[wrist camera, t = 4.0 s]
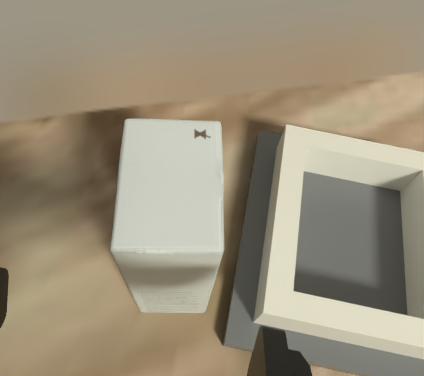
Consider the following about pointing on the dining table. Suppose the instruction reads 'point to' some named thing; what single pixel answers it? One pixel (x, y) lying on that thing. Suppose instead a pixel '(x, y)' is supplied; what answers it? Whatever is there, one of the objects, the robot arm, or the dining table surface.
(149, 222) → the skincare box
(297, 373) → the robot arm
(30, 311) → the dining table surface
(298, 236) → the socket plate
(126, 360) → the dining table surface
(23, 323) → the dining table surface
